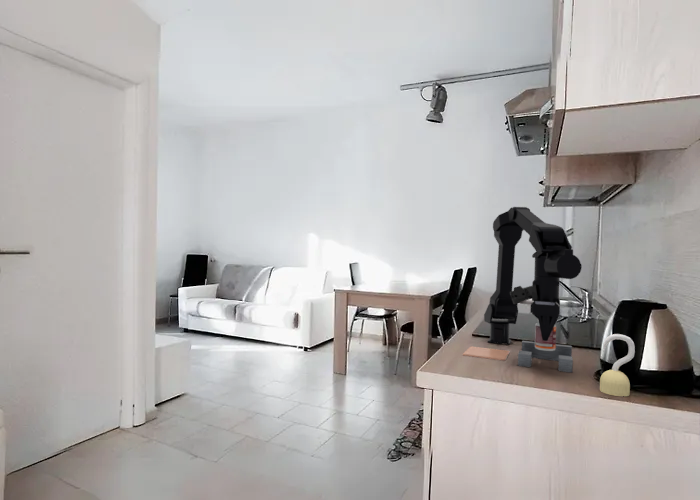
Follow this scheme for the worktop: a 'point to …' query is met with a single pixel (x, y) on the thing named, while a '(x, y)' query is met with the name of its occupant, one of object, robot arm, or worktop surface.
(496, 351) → the tile
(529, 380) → the worktop surface
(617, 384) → the hook
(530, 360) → the vise
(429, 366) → the worktop surface
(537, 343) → the pill bottle
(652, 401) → the worktop surface
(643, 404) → the worktop surface
